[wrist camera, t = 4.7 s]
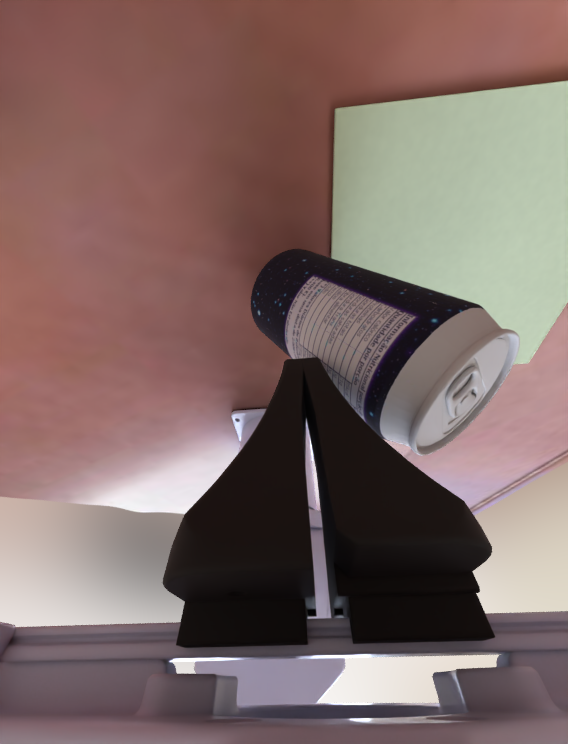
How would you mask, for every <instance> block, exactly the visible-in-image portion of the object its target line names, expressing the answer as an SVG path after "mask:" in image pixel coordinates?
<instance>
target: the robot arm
mask: <svg viewBox="0 0 568 744" xmlns="http://www.w3.org/2000/svg"><path fill="white" fill-rule="evenodd" d="M231 417H232V420H233V423H234V426H235V429H236V432H237V435H238V438H239V442H240V448H239V453H238V455H237V456H236V457H235V459H234V460H233V461H232V462H231V464H230V465H229V466H228V467H227V469H226V470H225V471H224V472H223V473H222V475H221V476H220V477H219V478H218V479H217V481H216V482H215V483H214V484H213V485H212V486H211V487H210V488H209V489H208V491H207V492H206V493H205V494H204V495H203V496H202V497H201V498H200V499H199V500H198V501H197V502H196V503H195V504H194V505H193V506H192V507H191V508H190V509H189V511H188V512H187V513H186V514H185V515H184V518H183V520H182V522H181V524H180V527H179V529H178V532H177V535H176V537H175V540H174V542H173V545H172V548H171V552H170V555H169V559H168V563H167V567H166V570H165V574H164V578H163V585H164V587H165V588H166V589H167V590H168V591H169V592H171V593H172V594H174V595H176V596H177V597H179V598H180V599H182V600H183V601H185V605H184V609H183V614H182V619H181V622H179V623H147V624H146V623H145V624H113V625H111V624H110V625H75V626H41V627H15V625H12V624H8V623H2V622H0V744H568V611H564V612H563V611H561V612H529V613H528V612H526V613H494V614H492V613H491V614H485V612H484V610H483V608H482V606H481V603H480V601H479V599H478V596H477V594H476V593H478V592H480V589H479V586H478V583H477V581H476V579H475V577H474V574H473V572H472V571H473V570H475V569H476V568H477V567H479V566H480V565H481V564H482V563H484V562H485V561H486V560H487V559H488V558H489V557H490V556H491V553H492V546H491V544H490V543H489V541H488V539H487V537H486V535H485V533H484V531H483V530H482V528H481V526H480V525H479V523H478V522H477V520H476V519H475V517H474V515H473V514H472V512H471V511H470V509H469V508H468V506H467V505H466V503H465V502H464V501H463V500H462V499H460V498H459V497H457V496H456V495H454V494H453V493H451V492H450V491H449V490H447V489H446V488H444V487H443V486H441V485H440V484H438V483H437V482H435V481H434V480H433V479H431V478H430V477H429V476H427V475H426V474H425V473H423V472H422V471H421V470H419V469H418V468H417V467H415V466H414V465H413V464H412V463H410V462H409V461H408V460H407V459H405V458H404V457H403V456H402V455H401V454H400V453H398V452H397V451H396V450H395V449H394V448H393V447H391V446H390V445H389V444H388V443H387V442H385V441H384V440H383V439H382V438H381V437H380V436H379V435H378V434H377V433H376V432H375V431H374V430H373V429H372V428H371V427H370V426H369V425H368V424H367V423H366V422H365V421H364V420H363V419H362V418H361V417H360V416H359V415H358V413H357V412H356V411H355V410H354V409H353V408H352V406H351V405H350V404H349V403H348V402H347V400H346V399H345V398H344V396H343V395H342V394H341V392H340V391H339V390H338V388H337V387H336V386H335V384H334V383H333V381H332V380H331V378H330V377H329V375H328V373H327V372H326V370H325V368H324V366H323V364H322V362H321V360H320V359H319V358H318V357H312V358H299V359H287V360H286V361H285V362H284V366H283V370H282V374H281V377H280V380H279V382H278V385H277V387H276V390H275V392H274V395H273V397H272V399H271V401H270V403H269V405H268V407H267V409H254V410H239V411H233V412H232V415H231ZM237 418H238V419H237ZM313 460H315V466H316V472H317V479H318V489H319V498H320V508H321V511H318V510H317V506H316V496H315V486H314V476H313V466H312V461H313ZM496 654H502V655H499V657H498V658H497V667H493V668H472V669H456V670H454V671H447V672H436V673H434V674H433V680H434V684H435V687H436V691H437V694H438V698H439V703H327V704H325V703H324V704H317V703H318V702H319V701H320V700H321V698H322V697H323V696H324V695H325V694H326V692H327V691H328V690H329V689H330V688H331V687H332V686H333V684H334V683H335V682H336V681H337V679H338V678H339V677H340V675H341V674H342V673H343V671H344V669H345V658H353V657H354V658H355V657H398V656H399V657H401V656H402V657H403V656H443V655H444V656H449V655H496ZM170 661H195V667H194V670H195V672H196V674H177V673H176V668H175V666H174V664H173V663H172V662H170Z"/></svg>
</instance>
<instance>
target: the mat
mask: <svg viewBox="0 0 568 744" xmlns="http://www.w3.org/2000/svg"><path fill="white" fill-rule="evenodd" d="M331 258H332V259H335V260H338V261H342V262H345V263H348V264H351V265H354V266H358V267H361V268H364V269H367V270H370V271H373V272H377V273H380V274H383V275H386V276H389V277H393V278H396V279H399V280H402V281H405V282H409V283H412V284H415V285H418V286H421V287H425V288H428V289H431V290H434V291H437V292H440V293H444V294H447V295H450V296H453V297H456V298H460V299H463V300H466V301H469V302H472V303H476V304H478V305H480V306H482V307H483V308H484V309H485V310H486V311H487V312H488V313H489V315H490V316H491V317H492V318H493V319H494V320H495V321H496V323H497V324H498V325H499V326H500V327H501V328H502V329H510V330H513V331H515V332H516V333H517V334H518V335H519V338H520V347H519V351H518V354H517V357H516V360H515V362H514V364H526V363H529V362H530V360H531V358H532V357H533V355H534V354H535V352H536V351H537V349H538V348H539V346H540V344H541V343H542V341H543V340H544V338H545V337H546V335H547V333H548V332H549V330H550V329H551V327H552V326H553V324H554V323H555V321H556V319H557V318H558V316H559V315H560V313H561V312H562V310H563V308H564V307H565V305H566V304H567V302H568V80H567V81H558V82H550V83H542V84H533V85H525V86H517V87H509V88H500V89H492V90H484V91H475V92H467V93H459V94H450V95H442V96H434V97H425V98H417V99H409V100H400V101H392V102H384V103H375V104H367V105H359V106H350V107H342V108H336V109H335V115H334V155H333V194H332V233H331Z"/></svg>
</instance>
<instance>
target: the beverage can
mask: <svg viewBox="0 0 568 744" xmlns="http://www.w3.org/2000/svg"><path fill="white" fill-rule="evenodd" d="M251 311H252V316H253V319H254V321H255V323H256V325H257V327H258V328H259V329H260V330H261V332H263V333H264V334H265V335H266V336H267V337H268V338H269V339H270V340H272V341H273V342H274V343H275V344H276V345H277V346H278V347H279V348H281V349H282V350H283V351H284V352H285V353H286V354H287V355H288V356H290V357H291V358H292V359H299V358H312V357H318V358H319V359H320V360H321V362H322V364H323V366H324V368H325V370H326V372H327V373H328V375H329V377H330V378H331V380H332V381H333V383H334V384H335V386H336V387H337V388H338V390H339V391H340V392H341V394H342V395H343V396H344V398H345V399H346V400H347V402H348V403H349V404H350V405H351V406H352V408H353V409H354V410H355V411H356V412H357V413H358V415H359V416H360V417H361V418H362V419H363V420H364V421H365V422H366V423H367V424H368V425H369V426H370V427H371V428H372V429H373V430H374V431H375V432H376V433H377V434H378V435H379V436H380V437H381V438H383V439H386V440H389V441H392V442H396V443H400V444H403V445H406V446H409V447H411V449H412V451H413V452H415V453H416V454H418V455H428V454H431V453H434V452H436V451H437V450H439V449H441V448H443V447H444V446H446V445H447V444H448V443H449V442H451V441H452V440H453V439H455V438H456V437H457V436H458V435H459V434H460V433H461V432H462V431H463V430H464V429H466V428H467V427H468V426H469V425H470V424H471V423H472V422H473V421H474V419H475V418H476V417H477V416H478V415H479V414H480V413H481V412H482V410H483V409H484V408H485V407H486V406H487V404H488V403H489V402H490V400H491V399H492V398H493V397H494V395H495V394H496V393H497V391H498V390H499V388H500V387H501V385H502V383H503V382H504V380H505V379H506V377H507V376H508V374H509V372H510V370H511V368H512V366H513V364H514V362H515V360H516V357H517V354H518V351H519V347H520V338H519V335H518V334H517V333H516V332H515V331H513V330H510V329H502V328H501V327H500V326H499V325H498V324H497V323H496V321H495V320H494V319H493V318H492V317H491V316H490V315H489V313H488V312H487V311H486V310H485V309H484V308H483V307H482V306H480V305H478V304H476V303H472V302H469V301H466V300H463V299H460V298H456V297H453V296H450V295H447V294H444V293H440V292H437V291H434V290H431V289H428V288H425V287H421V286H418V285H415V284H412V283H409V282H405V281H402V280H399V279H396V278H393V277H389V276H386V275H383V274H380V273H377V272H373V271H370V270H367V269H364V268H361V267H358V266H354V265H351V264H348V263H345V262H342V261H338V260H335V259H332V258H329V257H326V256H322V255H319V254H316V253H313V252H310V251H306V250H302V249H292V250H288V251H285V252H282V253H280V254H279V255H277V256H275V257H274V258H273V259H271V260H270V261H269V262H268V263H267V264H266V265H265V266H264V268H263V269H262V270H261V272H260V273H259V275H258V277H257V279H256V281H255V284H254V287H253V290H252V296H251Z"/></svg>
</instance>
